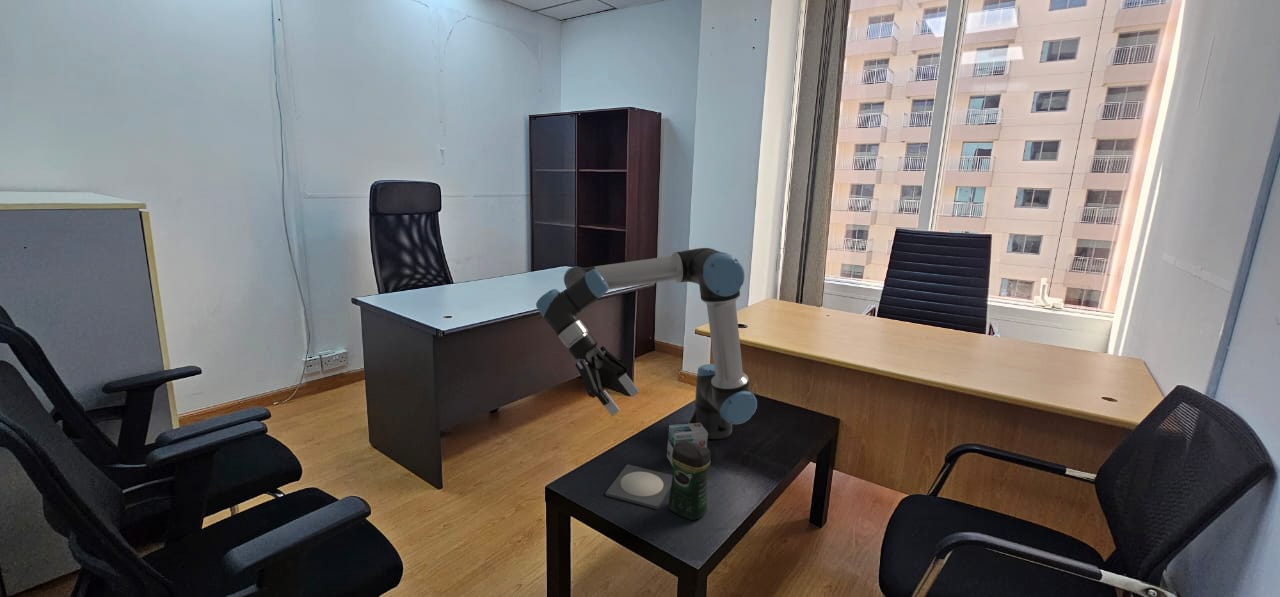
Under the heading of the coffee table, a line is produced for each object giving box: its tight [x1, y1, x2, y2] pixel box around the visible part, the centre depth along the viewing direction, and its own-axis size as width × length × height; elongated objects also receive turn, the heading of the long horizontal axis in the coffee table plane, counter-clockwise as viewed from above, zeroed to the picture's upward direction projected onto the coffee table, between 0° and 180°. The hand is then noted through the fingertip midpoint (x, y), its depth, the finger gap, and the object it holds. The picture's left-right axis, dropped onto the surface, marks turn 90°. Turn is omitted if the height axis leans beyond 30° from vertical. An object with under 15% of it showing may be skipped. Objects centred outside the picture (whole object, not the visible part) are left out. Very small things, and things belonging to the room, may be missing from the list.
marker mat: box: [605, 464, 673, 510], centre depth 147 cm, size 16×15×1 cm
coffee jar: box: [668, 439, 712, 521], centre depth 136 cm, size 10×8×19 cm
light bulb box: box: [666, 423, 708, 467], centre depth 161 cm, size 11×7×11 cm, turn 105°
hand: (626, 403), depth 142 cm, fingers open, 13 cm apart
